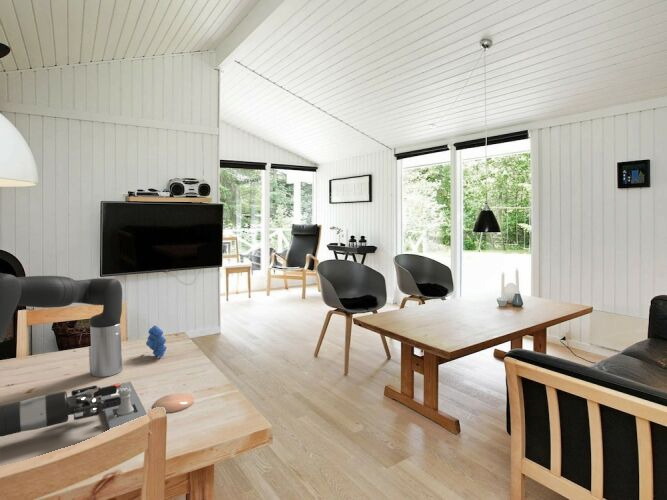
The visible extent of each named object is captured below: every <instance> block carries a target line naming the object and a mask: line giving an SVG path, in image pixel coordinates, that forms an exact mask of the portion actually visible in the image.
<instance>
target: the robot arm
mask: <svg viewBox="0 0 667 500" xmlns="http://www.w3.org/2000/svg"><path fill="white" fill-rule="evenodd" d="M122 287H123V286H122V283H121V282H120V281H119V280H118V279H117V278H100V277H99V278H89V279H79V280H78V279H77V280H76V279H73V278H71V277H67V276H62V275H60V276H59V275H30V276H28V275H27V276H19V277H18V276H17V277H16V276H15V275H13V274H9V273H2V272H0V343H1V342H2V340H3V337H4V336H5V333H6V331H7V328H8V326H9V324H10V321H11V320H12V317H13V315H14V313H15V311H16V309H17V306H21V307H30V308H49V309H50V308H62V307H67V306H70V305H72V304H85V305H90V306H91V305H92V306H103V307H102V312H101V313H98V314H95V315H93V316H91V317H90V319H89V329H90V331H89V332H90V346H89V347H88V359H89V363H88V364H89V374H90V375H92V376H93V377H98V378H104V377H105V378H106V377H110V376H115V375H117V374H119V373H121V372H122V371H123V354H122V350H123V349H122V330H121V329H122V328H121V327H122V325H121V318H122V317H121V316H122V314H123V288H122ZM112 385H113V384H112ZM102 387H103V388H102ZM102 387H99V386H98V385H91V386H86V387H83V388H78V389H74V390H72V391H71V395H70V396H68V393H67V391H60V392H55V393H50V394H46V395H45V394H44V395H41V396H35V397H31V398H28V399H25V400H21V401H17V402H11V403H7V404H2V405H0V438H1V437H5V436H10V435H13V434H17V433H22V432H29V431H34V430H39V429H43V428H47V427H52V426H55V425H60V424H64V423H67V422H68V421H69V415H70V416H72V415H73V420H74V421H77V420H83V419H87V418H91V417H96V416H99V415H102V414H103V412H104V409H106V408H111V407H115V406H119V405H120V404H121V398H120V397H119V396H118V397H113V398H109V399H105V400H100V396H101V397H102V396H107V395H111V394H115V393H116V392H117V389H116V385H113V386H111V385H108V387H106V386H102ZM100 388H101V389H100ZM98 398H99V399H98Z"/></svg>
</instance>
